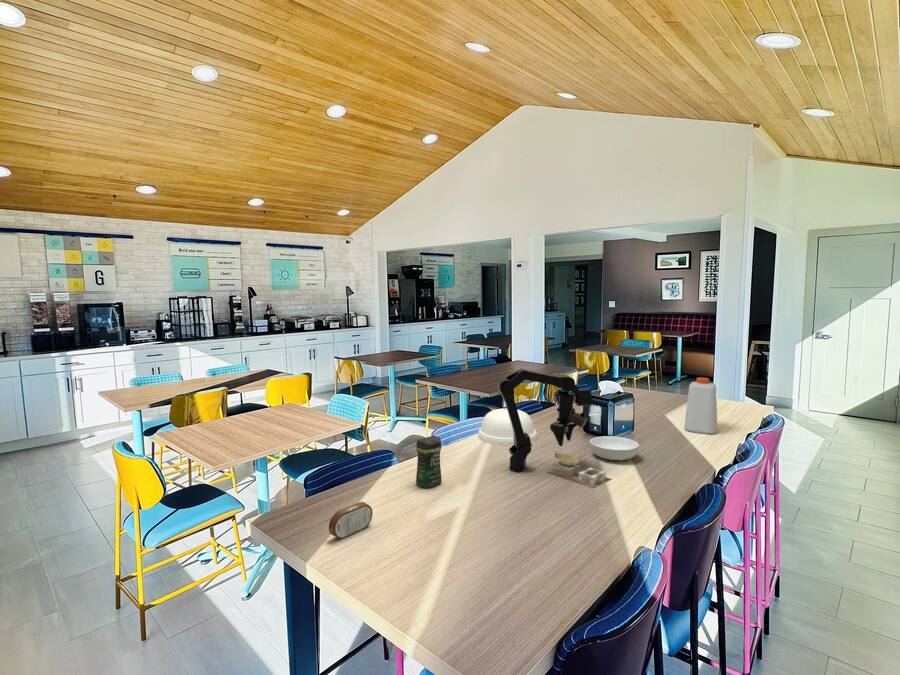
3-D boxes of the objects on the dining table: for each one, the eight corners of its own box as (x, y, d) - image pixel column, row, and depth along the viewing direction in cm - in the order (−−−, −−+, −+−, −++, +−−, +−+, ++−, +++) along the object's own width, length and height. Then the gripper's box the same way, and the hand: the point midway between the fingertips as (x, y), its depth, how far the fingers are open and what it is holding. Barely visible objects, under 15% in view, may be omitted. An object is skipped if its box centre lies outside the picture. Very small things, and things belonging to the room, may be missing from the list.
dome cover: (467, 433, 257) (467, 406, 256) (515, 426, 270) (515, 401, 268) (498, 450, 228) (498, 421, 227) (550, 442, 241) (550, 414, 239)
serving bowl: (631, 450, 227) (631, 436, 226) (644, 466, 206) (645, 450, 205) (585, 449, 229) (585, 435, 228) (594, 464, 208) (594, 449, 207)
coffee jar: (426, 490, 182) (425, 442, 180) (412, 484, 187) (412, 437, 186) (445, 483, 188) (445, 436, 186) (431, 478, 194) (431, 432, 192)
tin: (368, 522, 157) (367, 497, 156) (374, 525, 154) (373, 500, 154) (328, 540, 145) (327, 513, 145) (334, 544, 143) (333, 516, 142)
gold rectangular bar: (575, 476, 193) (576, 458, 192) (554, 469, 200) (554, 452, 199) (578, 474, 194) (578, 457, 193) (557, 468, 201) (557, 451, 201)
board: (594, 490, 181) (594, 480, 180) (545, 474, 197) (545, 465, 196) (612, 481, 189) (612, 471, 189) (564, 467, 205) (564, 457, 205)
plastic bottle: (717, 428, 262) (720, 377, 259) (715, 435, 249) (718, 381, 246) (686, 424, 270) (688, 374, 267) (683, 431, 257) (685, 379, 254)
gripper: (577, 413, 187) (576, 452, 188) (592, 404, 203) (591, 440, 204) (550, 409, 193) (549, 447, 194) (566, 401, 209) (565, 436, 210)
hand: (564, 443), depth 201 cm, fingers open, 9 cm apart
